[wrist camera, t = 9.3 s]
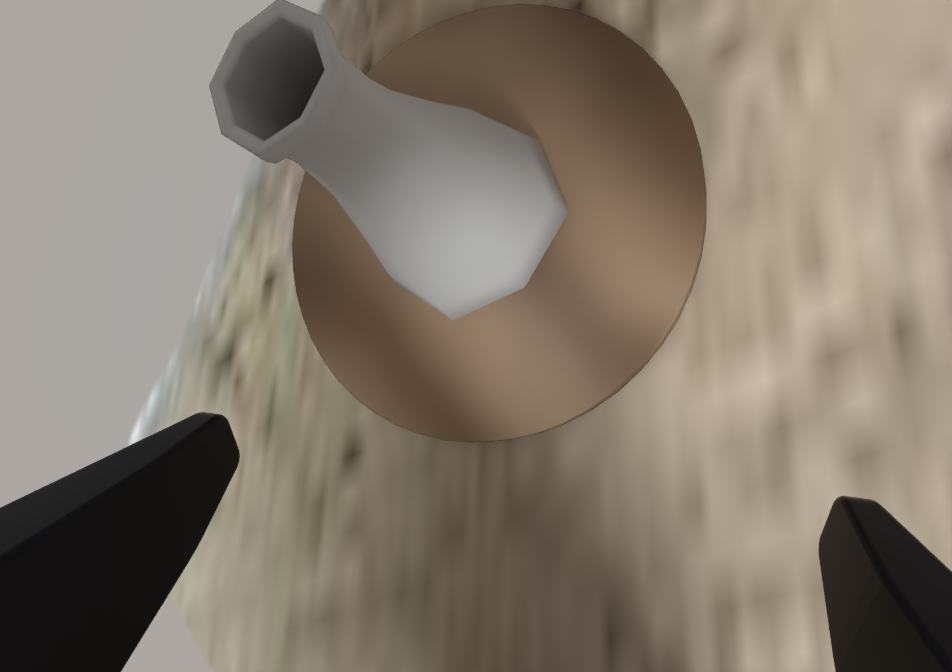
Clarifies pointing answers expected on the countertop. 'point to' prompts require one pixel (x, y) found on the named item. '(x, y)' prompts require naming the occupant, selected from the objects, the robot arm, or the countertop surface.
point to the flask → (393, 162)
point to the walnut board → (565, 261)
